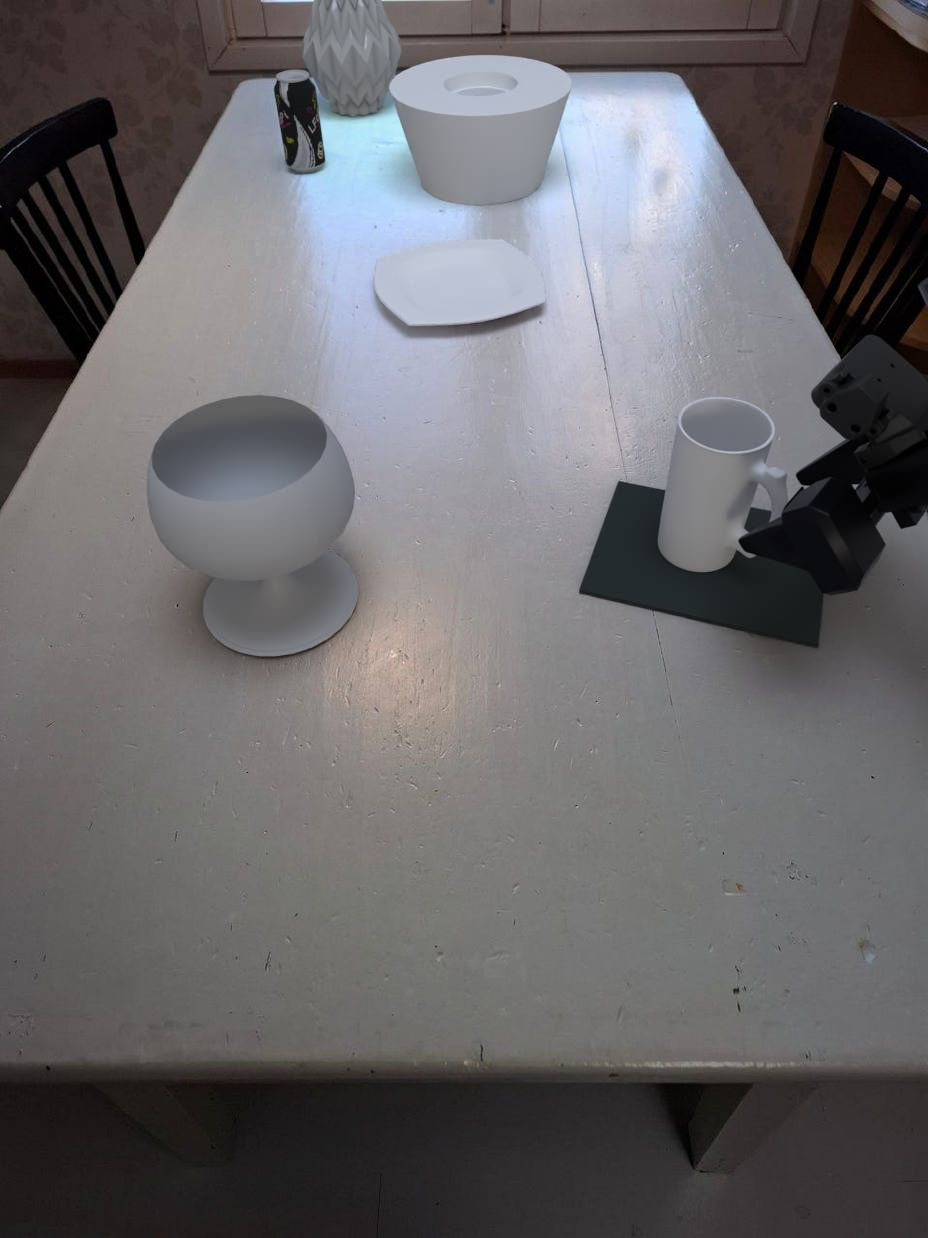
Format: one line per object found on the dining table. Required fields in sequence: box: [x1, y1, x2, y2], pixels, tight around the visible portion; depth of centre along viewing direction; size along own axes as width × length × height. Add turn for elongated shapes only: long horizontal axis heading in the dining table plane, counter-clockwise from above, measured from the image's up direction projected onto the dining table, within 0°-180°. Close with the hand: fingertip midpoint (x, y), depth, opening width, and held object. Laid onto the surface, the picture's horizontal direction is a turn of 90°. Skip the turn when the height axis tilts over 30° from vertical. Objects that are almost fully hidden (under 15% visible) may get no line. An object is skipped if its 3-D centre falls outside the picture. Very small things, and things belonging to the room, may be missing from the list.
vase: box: [299, 0, 403, 117], centre depth 134 cm, size 16×16×18 cm
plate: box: [373, 238, 547, 327], centre depth 98 cm, size 19×19×2 cm
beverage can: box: [273, 69, 326, 174], centre depth 121 cm, size 6×6×12 cm
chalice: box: [146, 394, 360, 657], centre depth 62 cm, size 14×14×15 cm
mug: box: [658, 396, 789, 572], centre depth 64 cm, size 10×7×12 cm, turn 36°
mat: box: [578, 480, 825, 649], centre depth 69 cm, size 18×14×1 cm
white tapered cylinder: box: [389, 54, 573, 206], centre depth 116 cm, size 24×24×12 cm
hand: (771, 510), depth 62 cm, fingers open, 9 cm apart
